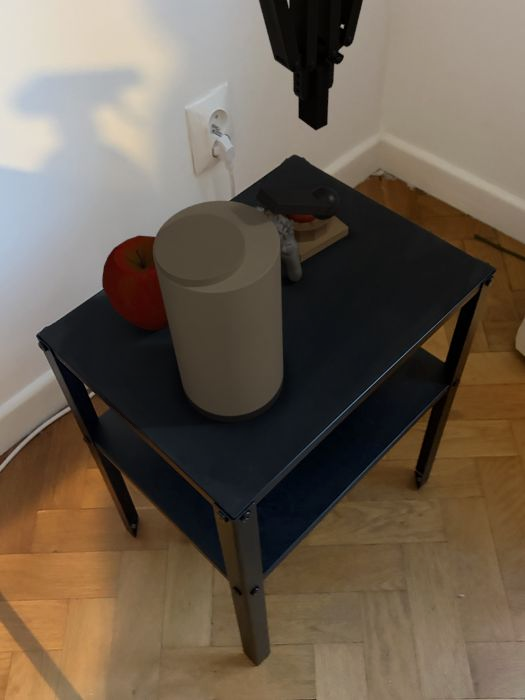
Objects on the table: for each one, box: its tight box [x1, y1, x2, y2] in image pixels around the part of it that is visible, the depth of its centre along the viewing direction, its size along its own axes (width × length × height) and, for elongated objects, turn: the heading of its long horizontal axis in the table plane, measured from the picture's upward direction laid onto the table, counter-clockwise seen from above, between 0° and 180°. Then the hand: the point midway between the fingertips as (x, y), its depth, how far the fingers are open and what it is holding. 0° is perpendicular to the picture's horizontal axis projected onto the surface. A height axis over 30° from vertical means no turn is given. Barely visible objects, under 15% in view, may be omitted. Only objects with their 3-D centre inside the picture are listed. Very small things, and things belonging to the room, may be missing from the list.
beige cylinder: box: [153, 200, 284, 423], centre depth 64 cm, size 10×10×20 cm
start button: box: [287, 189, 316, 223], centre depth 81 cm, size 4×4×2 cm
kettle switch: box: [255, 185, 341, 220], centre depth 60 cm, size 3×8×3 cm
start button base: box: [264, 209, 349, 264], centre depth 83 cm, size 8×7×3 cm
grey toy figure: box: [253, 205, 303, 282], centre depth 77 cm, size 9×12×8 cm
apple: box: [101, 235, 169, 331], centre depth 73 cm, size 9×8×11 cm
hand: (312, 121), depth 72 cm, fingers closed
